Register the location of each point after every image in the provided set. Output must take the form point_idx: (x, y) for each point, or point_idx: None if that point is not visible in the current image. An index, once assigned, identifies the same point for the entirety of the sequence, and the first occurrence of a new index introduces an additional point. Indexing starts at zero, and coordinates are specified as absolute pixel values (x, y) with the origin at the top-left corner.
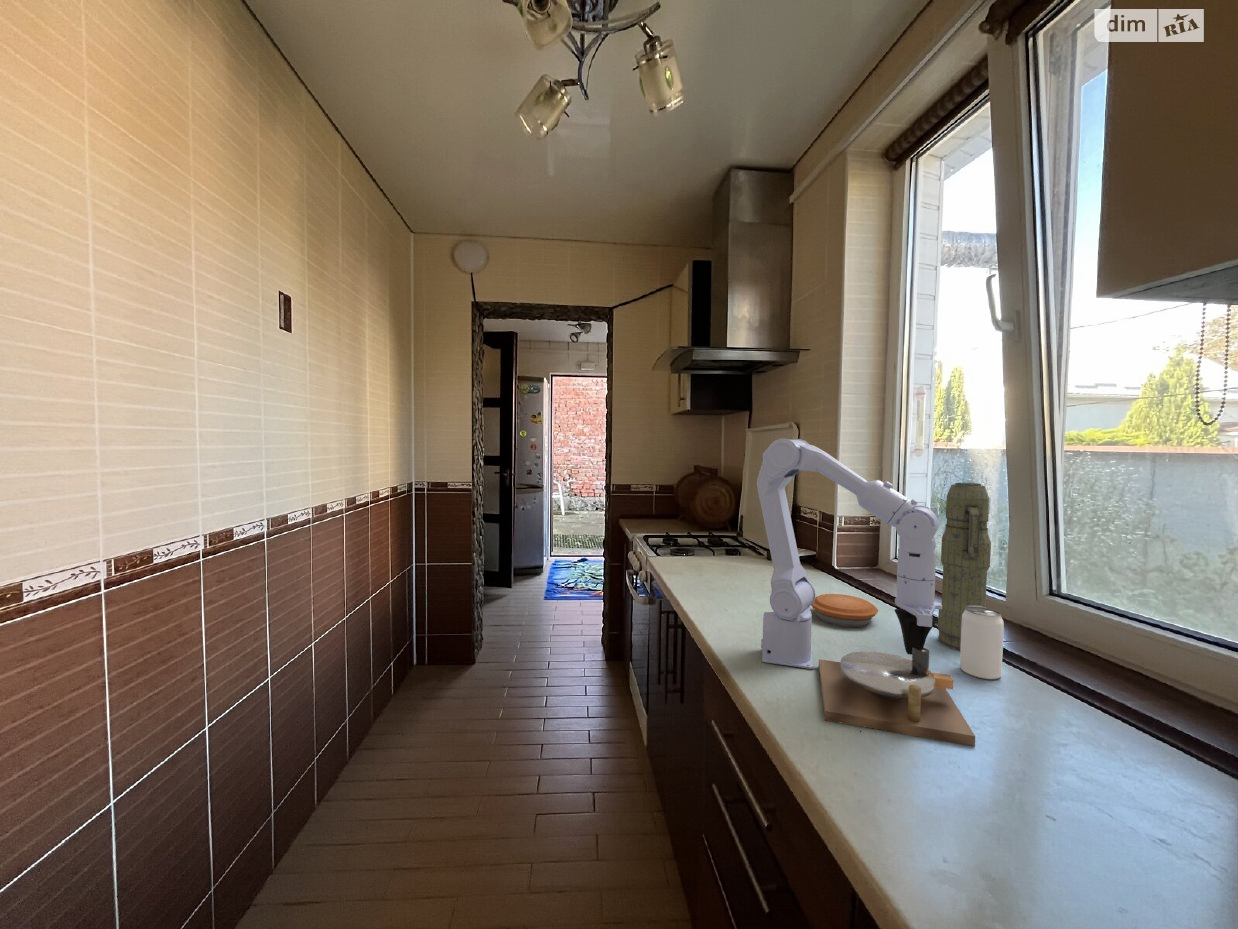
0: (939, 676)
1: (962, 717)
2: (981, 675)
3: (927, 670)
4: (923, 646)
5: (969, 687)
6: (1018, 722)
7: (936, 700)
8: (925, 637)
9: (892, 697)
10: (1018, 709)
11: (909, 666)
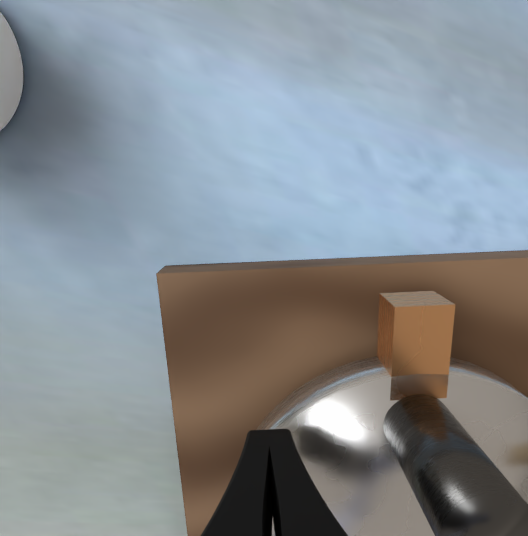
0: (428, 354)
1: (494, 263)
2: (17, 76)
3: (456, 420)
4: (299, 461)
5: (141, 154)
6: (383, 56)
7: None
8: (337, 523)
9: None
10: (271, 16)
11: (353, 452)
